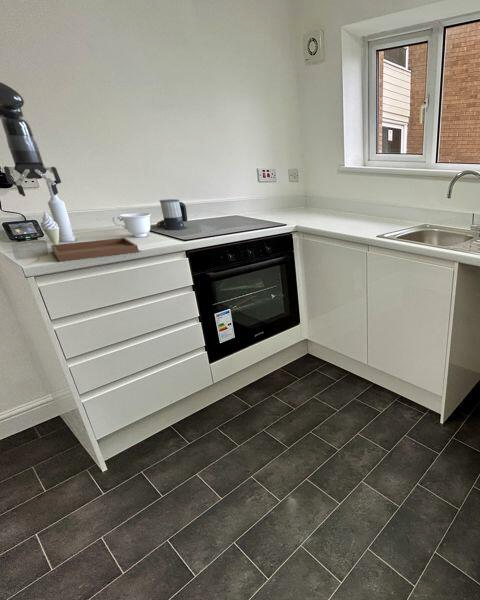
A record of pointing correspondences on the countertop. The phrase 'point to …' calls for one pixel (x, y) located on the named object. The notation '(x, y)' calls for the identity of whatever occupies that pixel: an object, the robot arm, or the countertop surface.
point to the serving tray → (93, 249)
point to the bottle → (60, 217)
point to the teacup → (135, 223)
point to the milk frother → (173, 214)
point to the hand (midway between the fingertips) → (39, 195)
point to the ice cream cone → (50, 228)
